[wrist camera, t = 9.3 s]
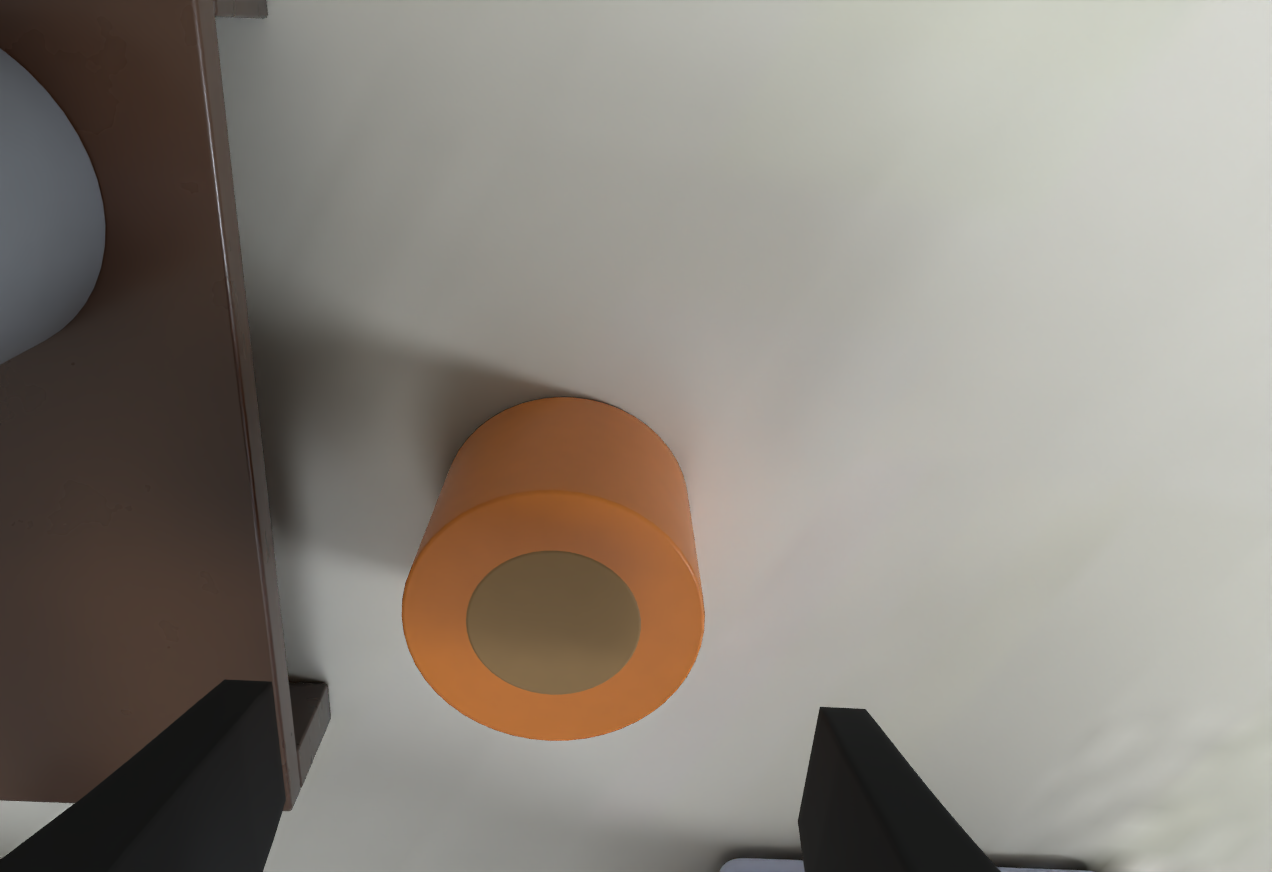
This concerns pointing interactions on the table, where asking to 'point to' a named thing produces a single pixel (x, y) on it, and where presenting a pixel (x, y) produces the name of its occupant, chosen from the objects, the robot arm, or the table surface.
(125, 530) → the brown rectangular block
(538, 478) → the orange tape
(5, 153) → the grey tape
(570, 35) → the table surface
